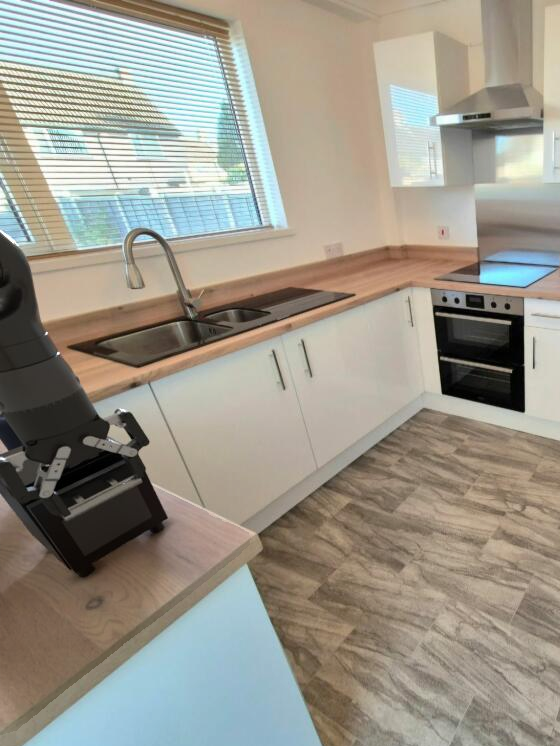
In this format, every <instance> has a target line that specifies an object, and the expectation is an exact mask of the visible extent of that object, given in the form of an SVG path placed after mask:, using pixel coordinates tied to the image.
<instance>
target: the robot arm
mask: <svg viewBox="0 0 560 746" xmlns="http://www.w3.org/2000/svg"><path fill="white" fill-rule="evenodd" d="M35 289H36V288H35V283H34V279H33V272H32V268H31V265H30V262H29V260H28V257H27V255H26V254H25V252H24V251H23V249H22V248H21V246H19V244H18V243H17V242H16V241H15V240H14V239H13V238H12V237H11V236H10V235H8V234H6V233H5V232H4V231H2V230H0V412H1V413H2V415H3V416H4V418H5V419H6V421H7V422H8V423H9V425H10V426H11V428H12V429H13V431H14V432H15V433H16V435H17V436H18V438H19V439H20V441H21V442H22V445H23V449H22V451H21V452H19V453H16V454H13V455H10V456H7V457H0V479H1V481H2V482H3V484H4V486H5V487H6V489H7V490H8V492H9V494H10V495H11V497H13V498H15V499H16V501H17V502H18V503H27V502H29V501H30V500H34V499H40V500H41V501H42V502H43V504H44V505H45V506H46V508H47V509H48V511H49V512H50V513H52V514H53V515H55V516H57V517H58V516H59V515H62V516H63V517H67V516H69V515H71V512H70V511H69V510H68V508H67V507H66V505H65V504H64V502H63V501H62V500H61V498H60V497H59V495H58V494H57V493H56V492H54V488H55V485H56V483H57V481H58V480H59V479H60V477H61V474H62V471H63V469H64V468H67V467H69V468H72V467H74V466H76V465H78V464H80V463H81V462H83V461H84V460H87V459H91V458H94V457H96V456H98V455H99V453H100V452H101V451H102V450H107V451H110V452H114V453H119V454H122V458H123V460H124V461H125V463H126V465H127V467H128V468H129V470H130V472H131V473H132V475H133V476H134V477H136V478H138V479H140V478H142V477H144V474H143V472H145V471H146V472H147V467H146V466H145V464H144V461H143V460H142V458H141V457H140V455H139V453H140V450H141V449H142V448H144V447H147V446H149V444H150V442H151V441H150V438H148V436H147V435H146V433H145V431H144V429H142V427H141V425H140V424H139V422H138V421H137V419H136V417H135V416H134V415H133V413H132V412H130V411H128V410H127V409H124V408H120V407H119V408H116V409H115V410H114V412H113V414H111V415H108V416H106V417H104V418H102V417H101V416H100V415H99V413H98V411H97V410H96V408H95V406H94V404H93V403H92V401H91V399H90V398H89V396H88V394H87V392H86V391H85V389H84V387H83V386H82V384H81V380H80V378H79V376H78V375H76V373H75V372H74V370H73V368H72V367H71V365H70V364H69V363H68V362H67V360H65V358H64V357H63V356H62V354H61V353H60V351H59V350H58V347H57V346H56V344H55V343H54V341H53V339H52V338H51V336H50V334H49V333H48V331H47V329H46V327H45V326H44V324H43V322H42V319H41V316H40V309H39V303H38V299H37V293H36V290H35ZM112 425H114V426H115V427H117V428H121V429H123V430H124V432H126V434H127V435H128V437H129V438H130V441H128V442H127V443H122V442H120V441H118V442H116V441H117V440H116V441H113V440H110V439H107V436H109V432H110V428H111V426H112ZM119 442H120V443H119ZM27 459H29V460H31V461H35V462H39V463H40V465H39V468H38V470H37V478H36V481H35V483H34V486H33V487H29V488H26V487H25V485H24V483H23V482H22V480H21V478H20V477H19V475H18V472H20V471H22V469H23V463H24V461H26V460H27Z"/></svg>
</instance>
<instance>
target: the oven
mask: <svg viewBox="0 0 560 746" xmlns="http://www.w3.org/2000/svg"><path fill="white" fill-rule="evenodd" d="M107 439H110V440H113V441H116V442H119V443H121V442H120V441H118V440H116V439H115V438H113V437H111V436H109V435H107ZM22 449H23V446H20V447H18V448H15V449H13V450H10V451H8V450H7V451H5V452H3V453H0V457H7V456H10V455H13V454H16V453H19V452H21V451H22ZM122 460H123V458H122V454H119V453H114V452H110V451H107V450H102V451H101V452H100V453H99V455H98V456H96V457H94V458H91V459H87V460H84V461H83V462H81V463H80V464H78V465H76V466H74V467H72V468H69V467H67V468H64V469H63V471H62V474H61V477H60V479H59V480H58V481H57V483H56V485H55V488H54V492H57V491H59V490H61V489H63V488H65V487H67V486H69V485H71V484H73V483H76V482H78V481H80V480H82V479H84V478H86V477H88V476H90V475H93V474H95V473H97V472H99V471H101V470H103V469H105V468H107V467H109V466H112V465H114V464H116V463H118V462H120V461H122ZM39 465H40V463H39V462H35V461H31V460H29V459H27V460H26V461H24V463H23V469H22V471H20V472H18V475H19V477H20V478H21V480H22V482H23V483H24V485H25V487H26V488H29V487H33V486H34V483H35V481H36V478H37V470H38V468H39ZM0 496H1V497H2V498H3V500H4V501H5V502H6V503H7V505H8V507H10V509H11V510H12V511H13V512H14V513H15V515H16V517H18V519H19V520H20V521H21V523H22V524H23V526H24V527H25V528H26V530H27V531H28V532H29V533H30V535H31V536H32V537H33V538H35V539H36V540H37V541H38V542H39V543H40V544H41V545H42V547H44V548H45V549H46V550H47V551H48V552H49V553H50V554H52V556H54V557H55V558H56V559H57V560H58V561H59V562H60V563H61V564H62V565H63V566H64V567H65V568H66V569H67V570H68V571H73V570H72V569H71V568H70V566H69V565H68V563H67V562H66V561H65V559H64V558H63V556H62V555H61V554H60V552H59V551H58V549H57V548H56V547H55V545H54V544H53V543H52V541H51V540H50V538H49V537H48V536H47V534H46V533H45V531H44V530H43V529H42V527H41V526H40V524H39V523H38V522H37V520H36V519H35V517H34V516H33V515H32V513H31V512H30V511H29V509H28V508H27V505H29V504H31V503H33V502H35V501H37V500H40V499H34V500H30V501H29V502H27V503H18V502H17V501H16V499H15V498H13V497H11V495H10V494H9V492H8V490H7V489H6V487H5V486H4V484H3V482H2V481H1V479H0ZM164 529H165V524H164V521H163V522H161V523H159V524H158V525H156V526H154V527H153V528H151V529H149V530H148V531H150V534H158V533H160V532H162V531H163V530H164ZM95 571H96V567H95V565H94V563H93V564H91V565H90V566H88V567H86V568H85V569H83V570H81V571H80V572H78V573H76V575H77V576H78V577H79V578H82V579H83V578H86V577H89V576H90V575H92V574H93V573H94V572H95Z"/></svg>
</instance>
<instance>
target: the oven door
mask: <svg viewBox="0 0 560 746" xmlns="http://www.w3.org/2000/svg"><path fill="white" fill-rule="evenodd" d="M143 474H144V477H142V478H140V479H138V478H136V477H134V476H133V475H132V473H131V472H130V470H129V468H128V467H127V465H126V463H125V461H124V460H122V461H120V462H118V463H116V464H114V465H112V466H109V467H107V468H105V469H103V470H101V471H99V472H97V473H95V474H93V475H90V476H88V477H86V478H84V479H82V480H80V481H78V482H76V483H73V484H71V485H69V486H67V487H65V488H63V489H61V490H59V491H57V492H56V493H57V494H58V495H59V497H60V498H61V500H62V501H63V502H64V504H65V505H66V507H67V508H68V510H69V511H70V512H71V515H69V516H67V517H63V516H62V515H59V516H58V517H57V516H55V515H53V514H52V513H50V512H49V511H48V509H47V508H46V506H45V505H44V504H43V502H42V501H41V500H37V501H35V502H33V503H31V504H29V505H27V508H28V509H29V511H30V512H31V513H32V515H33V516H34V517H35V519H36V520H37V522H38V523H39V524H40V526H41V527H42V529H43V530H44V531H45V533H46V534H47V536H48V537H49V538H50V540H51V541H52V543H53V544H54V545H55V547H56V548H57V549H58V551H59V552H60V554H61V555H62V556H63V558H64V559H65V561H66V562H67V563H68V565H69V566H70V568H71V569H72V570H71V571H72V572H73V573H74V574H77V573H78V572H80V571H81V570H83V569H85V568H86V567H88V566H90V565H91V564H93V565H94V563H96V562H98V561H99V560H101V559H103V558H105V557H106V556H108V555H110V554H111V553H113V552H114V551H116V550H118V549H120V548H121V547H123V546H124V545H126V544H128V543H130V542H132V541H133V540H135V539H136V538H138V537H140V536H141V535H143V534H145V533H146V532H148V531H150V530H149V529H151V528H153V527H154V526H156V525H158V524H159V523H161V522H163V523H164V522H165V521H166V520H167V519H169V517H168V515H167V512H166V511H165V510H166V509H164V507H163V504H162V502H161V501H160V499H159V496H158V494H157V493H156V492H157V491H156V490H155V487H154V486H153V483H152V482H151V480H150V478H149V475H148V473H147V470H146V471H145V472H143Z"/></svg>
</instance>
